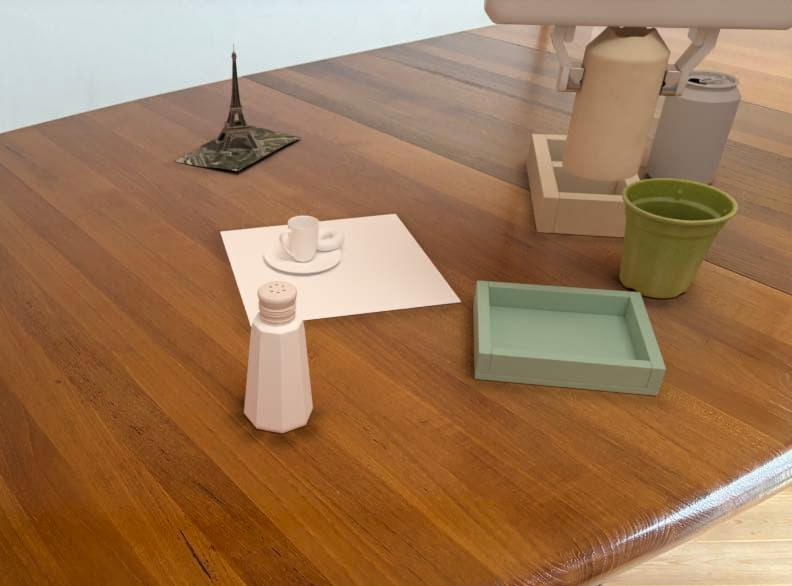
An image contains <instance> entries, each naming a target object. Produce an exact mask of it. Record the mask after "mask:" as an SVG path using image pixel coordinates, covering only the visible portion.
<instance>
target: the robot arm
mask: <svg viewBox="0 0 792 586" xmlns="http://www.w3.org/2000/svg"><path fill="white" fill-rule="evenodd" d="M483 10H484V12H485V15H486V16H487V17H488V18H489V20H490V21H491V22H492V23H493V24H494V25H516V26H517V25H520V26H521V25H523V26H550V31H549V37H550V41H551V43H552V46H553V49H554V51H555V55H556V57H557V60H558V63H559V68H558V72H557V79H556V91H557V93H576V92H579V91H580V87H581V83H580V80H581V79H582V78H583V73H584V67H583V66H582V63H583V61H573V60H571V59H570V56H569V54H568V51H567V48H566V45H565V43H572V42H573V41H574V39H575V38H574V37H575V34H576V30H577V29H576V28H577V27H608V26H609V27H621V28H622V27H646V28H656V29H658V28H659V29H660V28H664V29H688V32H687V38H688V39H689V40H690V41H691V43H690V45H689V46H688V47H687V48H686V50H684V52H683V53H682V54H681V55H680V56H679V58H678V59H677V60H676V61H675V63H668V64H667V68H666V71H665V75H664V79H663V82H662V86H661V90H660V93H659V97H660V96H661V97H666V96H682V95H683V92H684V89H685V86H686V82H687V79H688V75H689V72H690V71H692V70H695V69H696V68H697V66H699V64H700V63H702V62H703V60H704V59H705V58H706V57H707V56H708V54H710V52H711V51H713V50H714V48H715V47H716V45H717V41H718V39H719V34H720V31H721V30H750V31H751V30H753V31H754V30H755V31H759V30H760V31H788V30H790V29H791V28H792V0H483Z"/></svg>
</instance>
